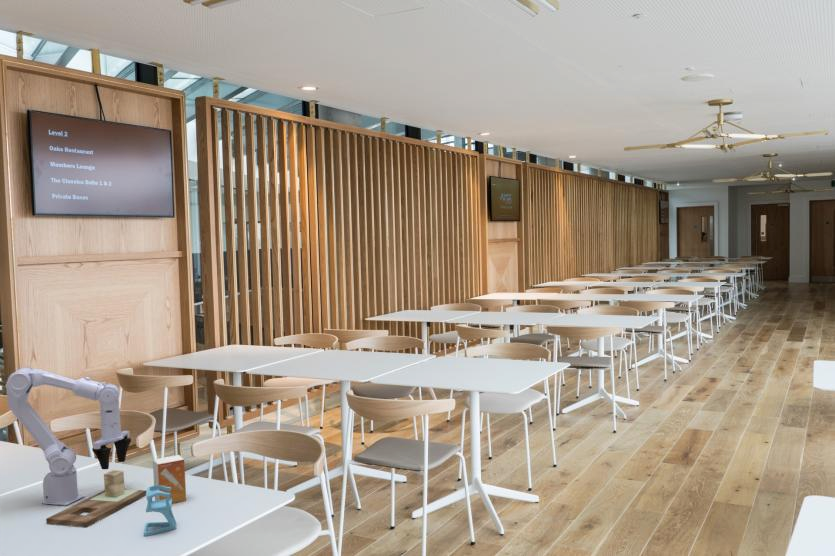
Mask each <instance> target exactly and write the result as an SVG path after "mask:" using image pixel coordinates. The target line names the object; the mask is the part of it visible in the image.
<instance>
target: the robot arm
mask: <svg viewBox="0 0 835 556" xmlns="http://www.w3.org/2000/svg"><path fill="white" fill-rule="evenodd" d="M44 385H46V386H50V387H55V388H60V389H64V390H69V391H72V392H73V394H74V396H76V397H79V398H84V399H87V400H91V401H95V402H96V401H98V402H99V404H100V410H99V414H100V415H99V416H100V428H101V429H100V432H101V437H100V438H99V439H98V440H96V441H94V442H92V448H91V449H92V452H93V453H94V455H95V456H96V458H97V459H98V462H99V465H100V467H101V469H102V470H109V467H110V454H111V450H112V447H107V445H110V444H114V447H115V451H116V459H117V462H119V463H125V461H126V457H127V452H128V449H129V446H130V444H131V442H132V438H130V437H131V435H130V434H131V433H130V430H123V431H122V424H121V408H120V401H119V397H120V389H119V387H118V386H117V385H115V384H113V383H111V382H110V383H107V382H104V381H102V382H100V381H96V380H92V379H91V377H88V376H86V377H81V378H78V379H76V380H75V379H74V378H69V377H66V376H63V375H59V374H56V373H53V372H50V371H47V370H44V369H40V368H33V367H29V366H24V367H20V368H18V369H17V370H16V371H14V372H12V373H11V374H10V375H9V376H8V377H7V381H6V384H5V386H4V387H5V389H6V403H7V407H8V409H10V411H11V412H12V414H13V415H14V416H15V417H16V419H17V421H19V422H20V424H21V425H22V426H23V427H24V429H25V430H26V431H27V432H28V434H29V435H30V436H31V437H32V439H33V440H34V441H35V443H36V444H37V445H38V446H39V448H40V449H41V450H42V451H43V454H44V457H45V458H44V459H45V460H46V461H47V463H48V468H49V471H50V472H48V473H47V474H45V476H44V477H43V480H42V488H43V489H42V490H43V501H41V504H43V505H54V506H55V505H57V506H69V505H71V504H73V503H75V502H77V501H79V500H81V499H83V498H85V495H84V494H79V491H78V476H77V475H78V473H77V468H76V467H75V466H74V464H75V463H76V460H77V454H76V452H75V450H74V449H73V448H70V447H68V446H66V444H65V443H64V442H62V441H60V440H59V439H58V438H57V437H56V435H55V434H54V432H53V431H52V430H51V429H50V428H49V426H48V425H47V424H46V423H45V421H44V420H43V418H42V417H41V416H40V415H39V413H38V412H37V411H36V410H35V408H34V407H33V406H32V405H31V403H30V402H29V401H28V398H29V396H30V393H31V389H32V388H37V387H41V386H44Z"/></svg>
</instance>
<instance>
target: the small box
mask: <svg viewBox="0 0 835 556" xmlns="http://www.w3.org/2000/svg"><path fill="white" fill-rule="evenodd" d="M152 469H153V471H152V472H153V486H155V485H162V486H165V487H171V490H170V493H171V494H170V499H172V504H177V503H180V502H186V501H187V492H186V491H187V490H186V489H187V488H186V470H185V469H186V468H185V458H183V457H182V456H181V455H180V454H175V455H171V456H166V457H161V458H160V457H159V458H156V459H152ZM157 490H159V491H163V492H165V493H167V492H168V491H166V490H164V489H157ZM166 498H167V497H165V496H155V497H154V501H158V500H165V499H166Z"/></svg>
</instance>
